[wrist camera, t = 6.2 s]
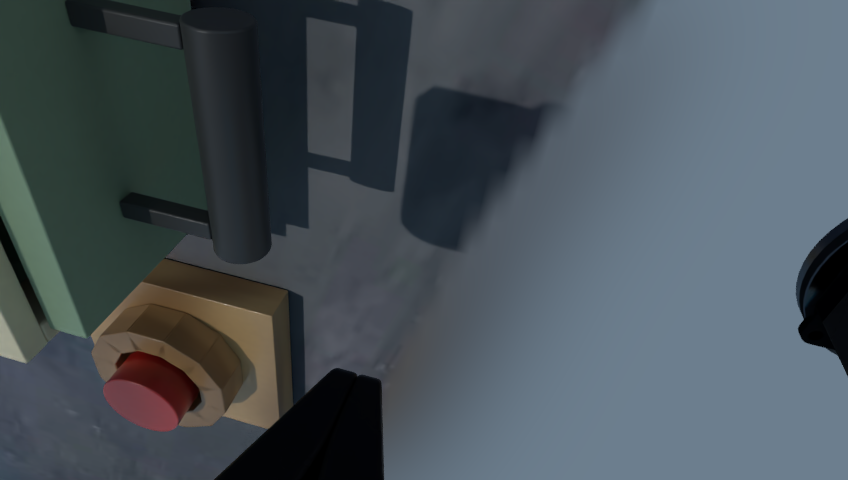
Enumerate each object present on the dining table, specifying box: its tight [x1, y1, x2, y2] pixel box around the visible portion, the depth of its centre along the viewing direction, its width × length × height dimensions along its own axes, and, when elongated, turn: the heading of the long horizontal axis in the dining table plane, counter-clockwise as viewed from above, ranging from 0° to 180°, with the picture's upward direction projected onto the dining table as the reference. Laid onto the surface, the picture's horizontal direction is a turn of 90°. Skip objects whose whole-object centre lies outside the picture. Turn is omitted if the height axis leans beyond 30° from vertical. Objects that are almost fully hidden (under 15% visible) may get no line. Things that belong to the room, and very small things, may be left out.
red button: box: [103, 351, 199, 431], centre depth 25 cm, size 4×4×2 cm
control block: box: [91, 259, 293, 429], centre depth 27 cm, size 10×9×4 cm
